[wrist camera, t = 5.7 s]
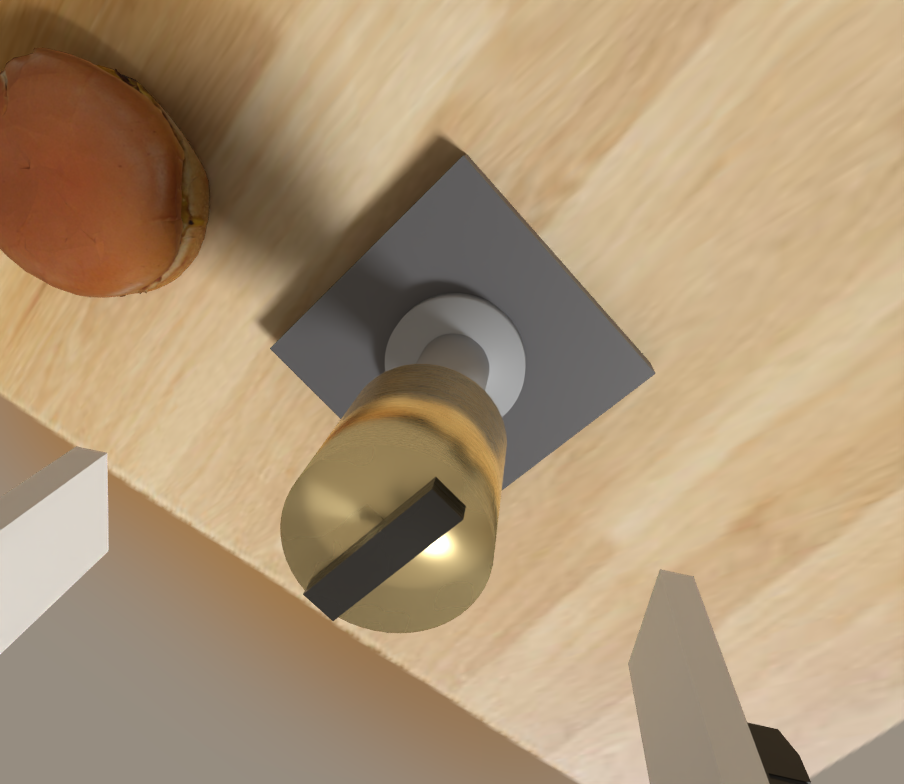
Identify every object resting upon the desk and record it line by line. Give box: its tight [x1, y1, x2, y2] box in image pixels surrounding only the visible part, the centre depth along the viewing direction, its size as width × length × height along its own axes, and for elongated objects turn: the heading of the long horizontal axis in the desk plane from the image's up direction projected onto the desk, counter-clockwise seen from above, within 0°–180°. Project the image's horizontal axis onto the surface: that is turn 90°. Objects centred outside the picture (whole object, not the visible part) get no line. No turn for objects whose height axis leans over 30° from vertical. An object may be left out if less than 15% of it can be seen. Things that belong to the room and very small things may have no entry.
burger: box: [0, 48, 209, 297], centre depth 28 cm, size 10×9×5 cm
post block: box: [270, 155, 655, 490], centre depth 27 cm, size 12×12×10 cm
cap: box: [281, 364, 507, 633], centre depth 19 cm, size 5×5×7 cm
